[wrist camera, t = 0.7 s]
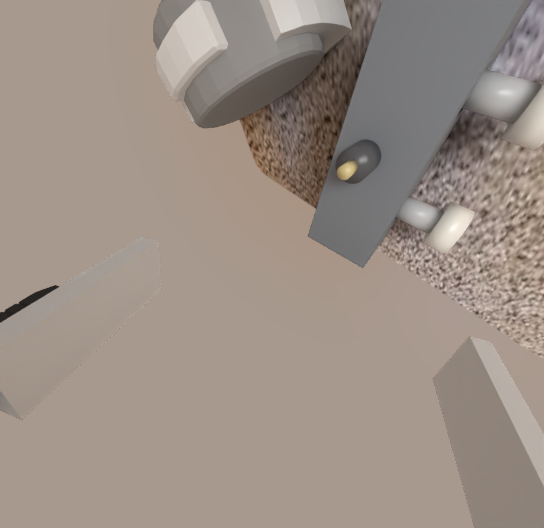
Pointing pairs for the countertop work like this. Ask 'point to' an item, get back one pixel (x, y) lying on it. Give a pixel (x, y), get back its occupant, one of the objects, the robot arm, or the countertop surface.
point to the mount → (407, 109)
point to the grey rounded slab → (241, 51)
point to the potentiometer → (358, 161)
